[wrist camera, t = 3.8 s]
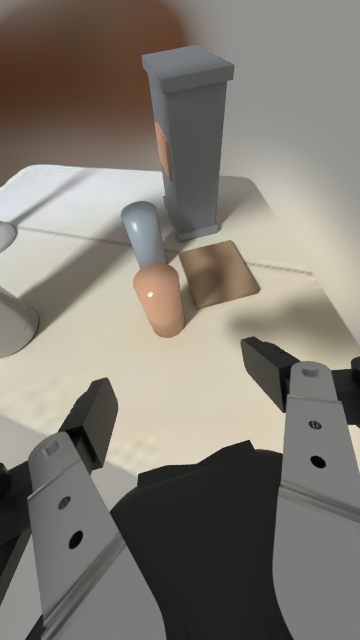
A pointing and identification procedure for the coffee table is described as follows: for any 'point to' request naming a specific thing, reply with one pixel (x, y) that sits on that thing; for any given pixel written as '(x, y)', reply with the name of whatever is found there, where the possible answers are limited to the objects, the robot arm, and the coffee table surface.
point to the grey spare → (144, 232)
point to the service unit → (189, 133)
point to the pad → (216, 274)
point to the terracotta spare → (160, 298)
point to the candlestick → (6, 235)
